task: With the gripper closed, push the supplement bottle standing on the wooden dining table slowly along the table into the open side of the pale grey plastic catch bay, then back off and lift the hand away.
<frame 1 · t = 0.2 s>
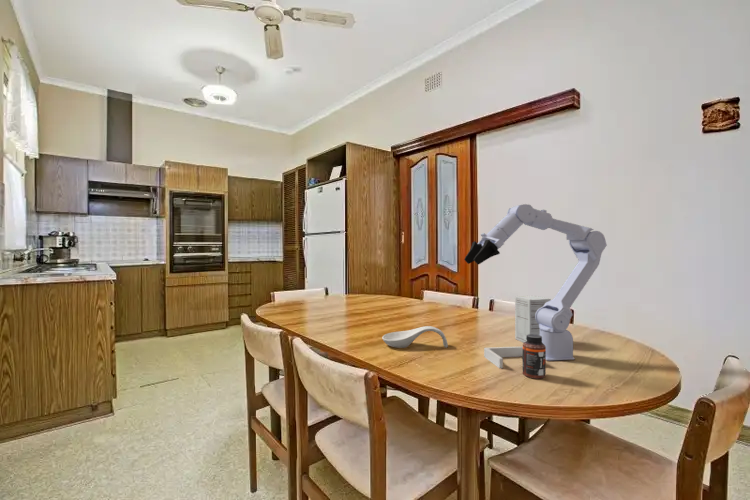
hand: (470, 261, 111), 31 cm above the table, tool tilted 45°, fingers open, 7 cm apart
supplement box: (532, 342, 134), on the table
catch bay: (512, 361, 111), on the table
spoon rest: (414, 346, 129), on the table
supplement bottle: (533, 376, 99), on the table
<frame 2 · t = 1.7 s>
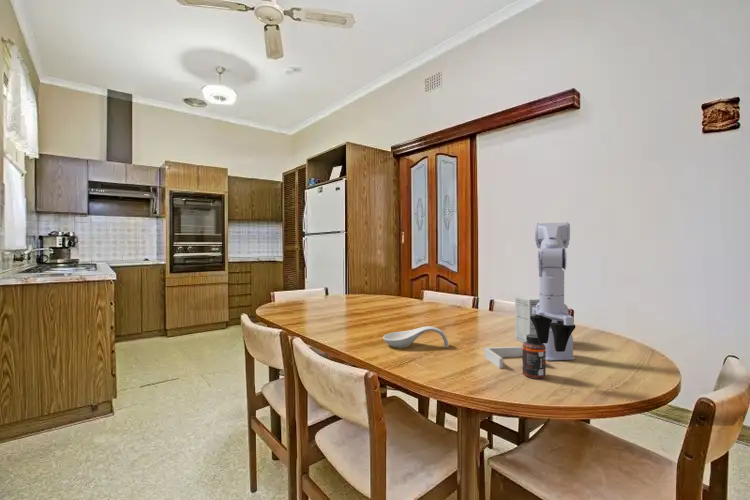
hand: (551, 347, 91), 10 cm above the table, tool pointing down, fingers open, 7 cm apart
nothing on the table moved.
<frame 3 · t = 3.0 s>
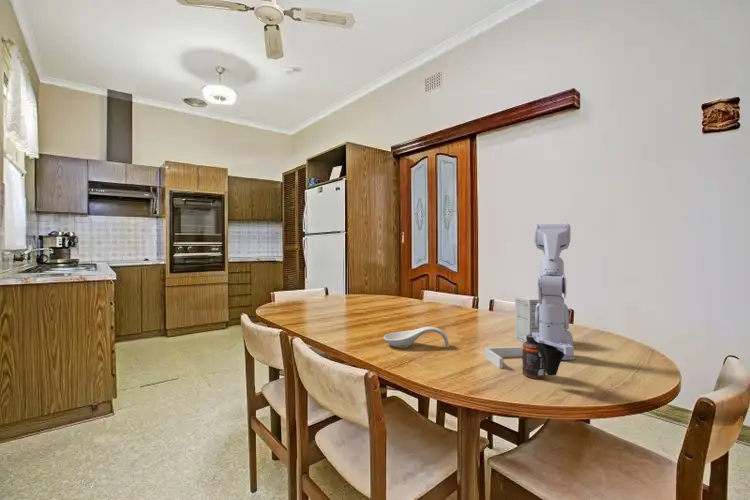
hand: (551, 374, 91), 3 cm above the table, tool pointing down, fingers closed
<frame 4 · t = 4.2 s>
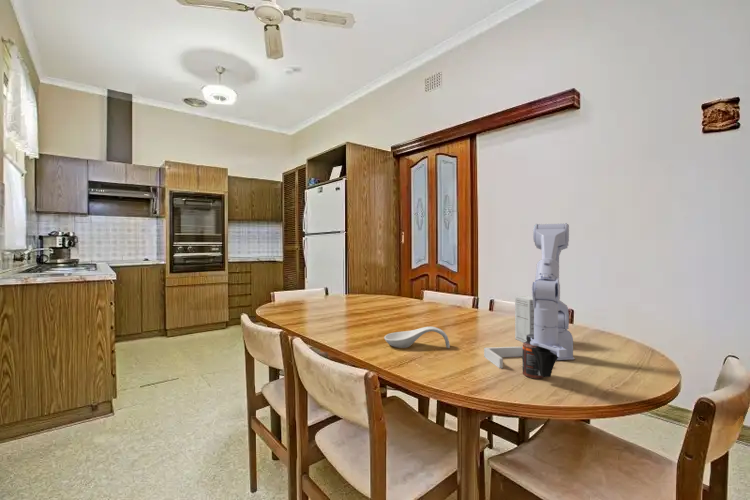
hand: (545, 376, 93), 2 cm above the table, tool pointing down, fingers closed
supplement bottle: (533, 376, 99), on the table, touching gripper
everything else where it was.
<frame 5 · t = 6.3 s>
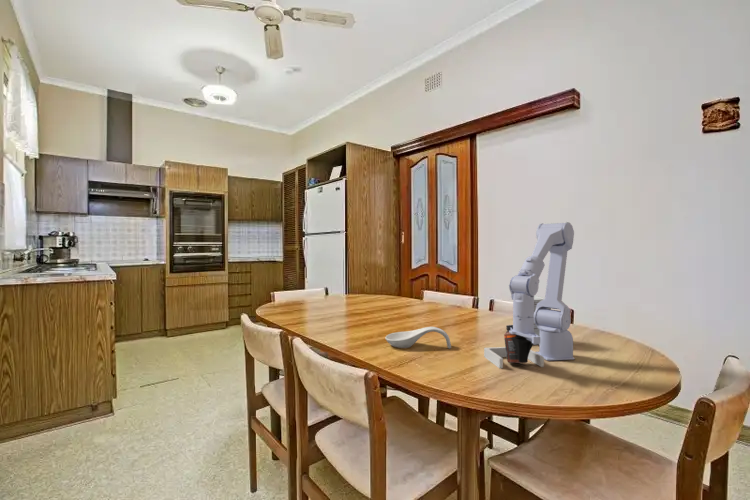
hand: (522, 361, 104), 2 cm above the table, tool pointing down, fingers closed, pressing on supplement bottle
supplement bottle: (517, 363, 107), point 1 cm above the table, touching gripper
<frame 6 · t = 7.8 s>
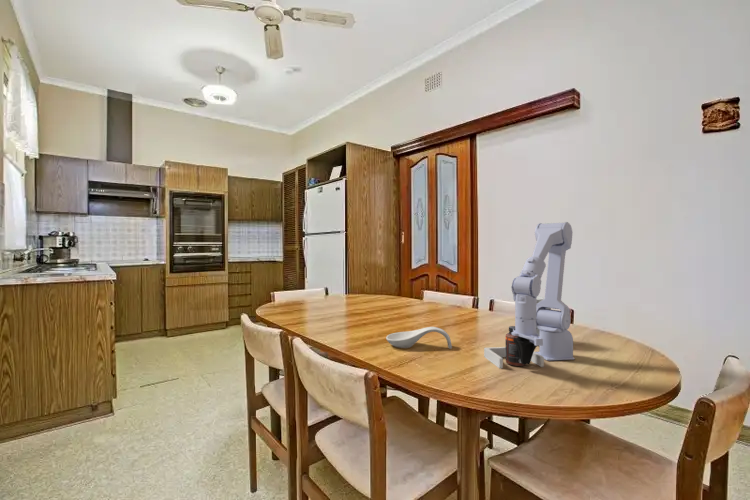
hand: (525, 363, 103), 2 cm above the table, tool pointing down, fingers closed
supplement bottle: (515, 364, 108), on the table, touching gripper
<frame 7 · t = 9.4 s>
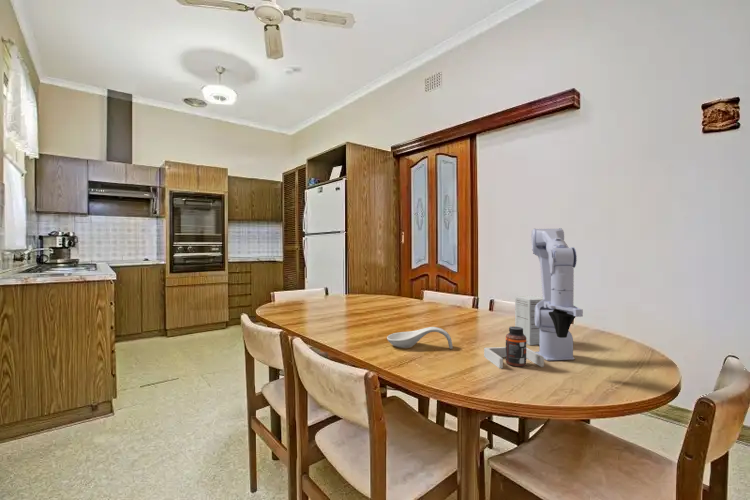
hand: (561, 337, 100), 10 cm above the table, tool pointing down, fingers closed
supplement bottle: (515, 364, 108), on the table
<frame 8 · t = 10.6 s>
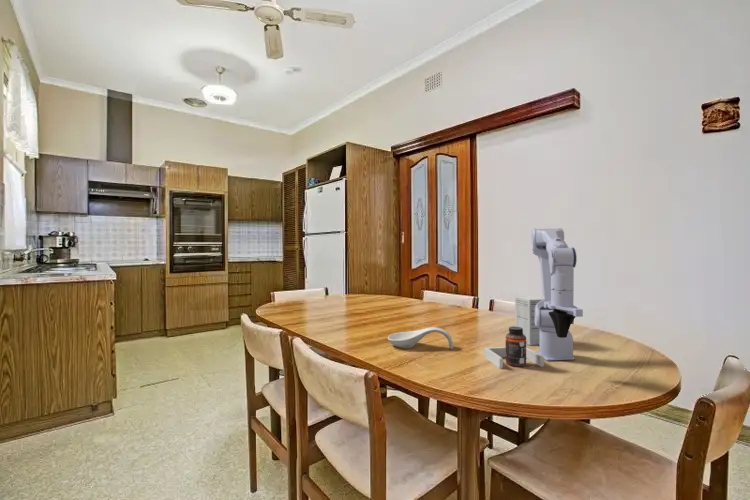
hand: (561, 337, 100), 10 cm above the table, tool pointing down, fingers closed
at the end: supplement bottle inside the target area on the catch bay (2.2 cm from its centre), point 0.0 cm above the catch bay's base; supplement bottle tilted 0°; the gripper is holding nothing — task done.
